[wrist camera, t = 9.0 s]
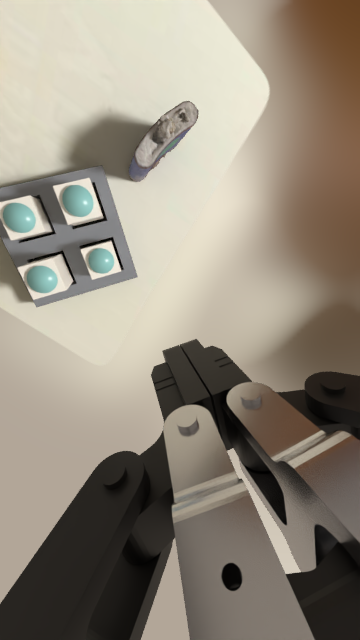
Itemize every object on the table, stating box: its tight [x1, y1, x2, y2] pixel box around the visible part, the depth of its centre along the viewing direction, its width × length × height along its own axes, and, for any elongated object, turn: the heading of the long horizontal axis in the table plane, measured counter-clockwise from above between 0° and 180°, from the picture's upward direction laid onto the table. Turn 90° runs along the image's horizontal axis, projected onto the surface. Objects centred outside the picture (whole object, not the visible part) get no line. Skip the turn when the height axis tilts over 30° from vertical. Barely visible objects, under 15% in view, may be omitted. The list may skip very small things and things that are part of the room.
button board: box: [0, 165, 138, 307], centre depth 35 cm, size 15×15×3 cm
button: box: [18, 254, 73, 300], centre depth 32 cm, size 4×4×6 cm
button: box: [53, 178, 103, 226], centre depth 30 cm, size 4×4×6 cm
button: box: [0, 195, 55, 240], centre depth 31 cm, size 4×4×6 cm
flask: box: [129, 101, 198, 182], centre depth 31 cm, size 9×3×11 cm, turn 131°
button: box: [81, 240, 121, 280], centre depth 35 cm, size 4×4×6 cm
